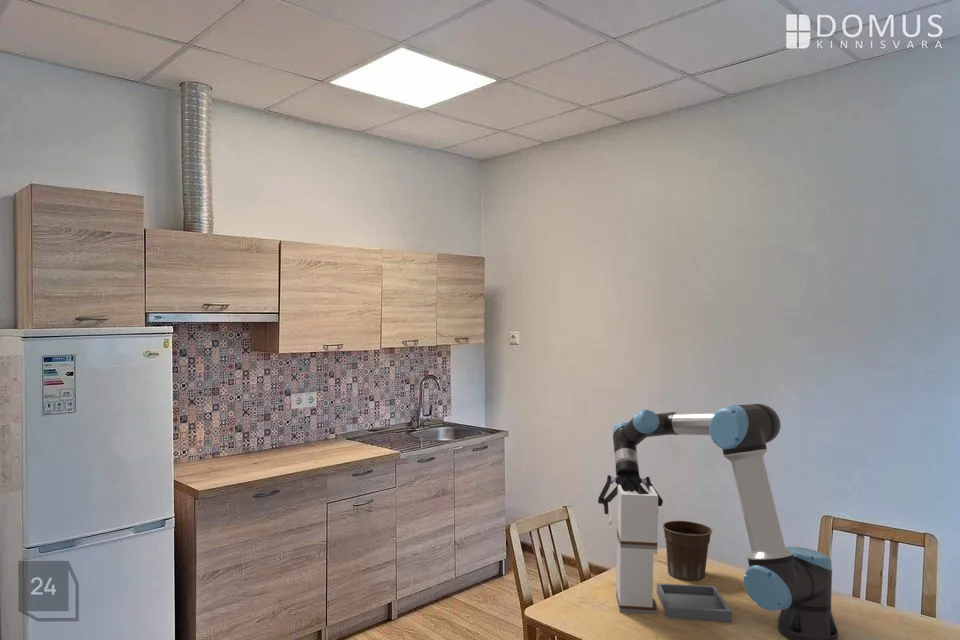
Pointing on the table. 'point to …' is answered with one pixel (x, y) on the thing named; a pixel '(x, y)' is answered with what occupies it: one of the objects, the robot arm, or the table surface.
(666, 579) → the table surface
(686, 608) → the tray
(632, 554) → the brown-banded white pillar
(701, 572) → the plant pot
